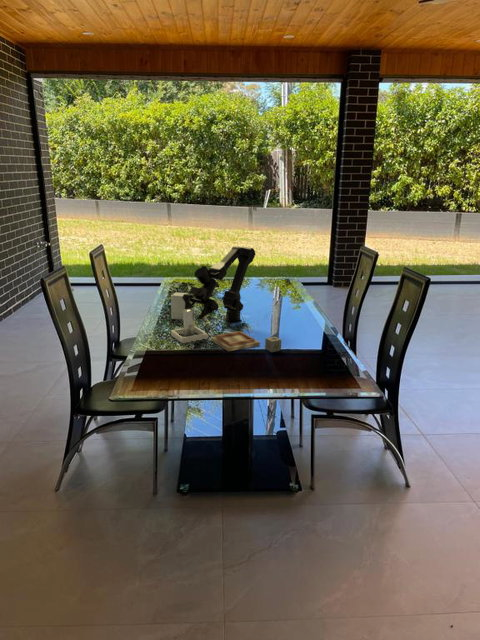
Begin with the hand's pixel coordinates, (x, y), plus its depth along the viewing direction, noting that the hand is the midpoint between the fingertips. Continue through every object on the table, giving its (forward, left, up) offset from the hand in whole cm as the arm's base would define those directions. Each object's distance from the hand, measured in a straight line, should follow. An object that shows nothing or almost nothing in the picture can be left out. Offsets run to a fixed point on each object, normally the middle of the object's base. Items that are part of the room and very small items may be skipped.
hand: (191, 317), depth 236 cm
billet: (+2, +1, -9) cm, 10 cm away
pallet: (-13, +18, -9) cm, 24 cm away
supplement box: (-7, -30, -9) cm, 32 cm away
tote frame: (+2, +1, -9) cm, 10 cm away
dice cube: (-24, +33, -10) cm, 42 cm away
